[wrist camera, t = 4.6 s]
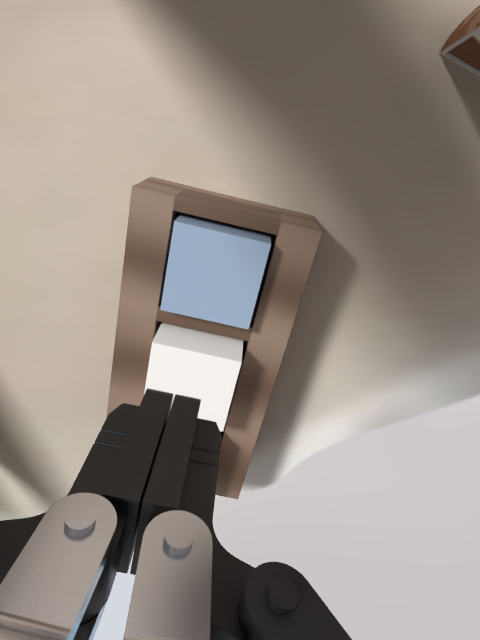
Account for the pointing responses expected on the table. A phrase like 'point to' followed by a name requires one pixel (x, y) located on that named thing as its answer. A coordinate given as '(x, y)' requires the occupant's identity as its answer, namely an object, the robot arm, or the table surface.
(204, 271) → the slate blue key
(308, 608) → the robot arm
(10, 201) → the table surface
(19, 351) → the table surface
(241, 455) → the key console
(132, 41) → the table surface
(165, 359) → the off-white key
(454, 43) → the food container
